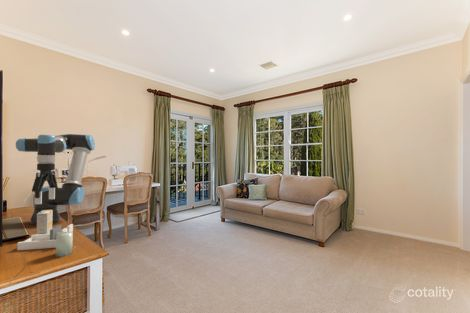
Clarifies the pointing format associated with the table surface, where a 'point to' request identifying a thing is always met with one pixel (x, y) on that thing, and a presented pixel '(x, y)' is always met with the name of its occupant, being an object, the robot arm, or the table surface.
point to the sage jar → (64, 243)
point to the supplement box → (44, 221)
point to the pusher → (55, 232)
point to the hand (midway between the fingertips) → (45, 201)
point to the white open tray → (41, 241)
